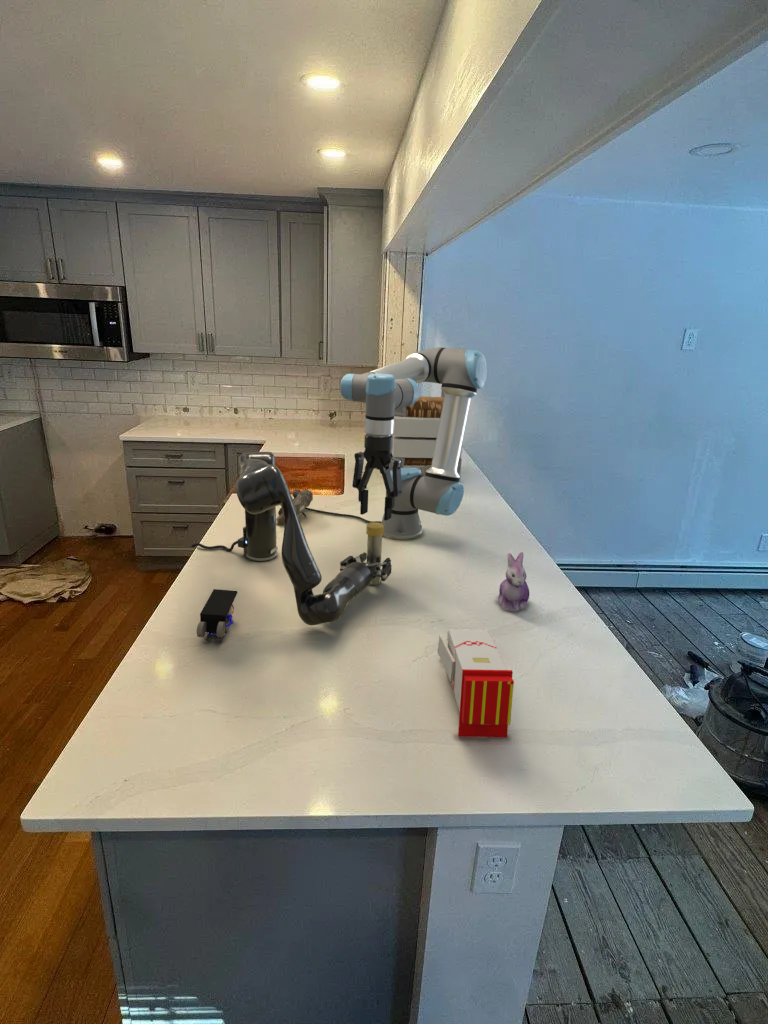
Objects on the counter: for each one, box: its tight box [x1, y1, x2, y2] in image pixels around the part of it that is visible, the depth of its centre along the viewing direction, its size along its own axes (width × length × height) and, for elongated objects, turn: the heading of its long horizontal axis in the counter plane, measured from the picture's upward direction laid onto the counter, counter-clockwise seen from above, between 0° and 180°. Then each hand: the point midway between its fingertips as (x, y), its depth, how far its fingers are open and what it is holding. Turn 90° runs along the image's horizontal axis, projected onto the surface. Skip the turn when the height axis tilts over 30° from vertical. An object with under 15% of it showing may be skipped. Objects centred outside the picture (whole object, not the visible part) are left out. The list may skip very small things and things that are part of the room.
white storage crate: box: [389, 390, 464, 483], centre depth 268 cm, size 34×33×41 cm
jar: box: [366, 535, 383, 586], centre depth 161 cm, size 4×4×17 cm
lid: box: [365, 522, 384, 537], centre depth 159 cm, size 5×5×2 cm
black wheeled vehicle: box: [196, 588, 238, 643], centre depth 135 cm, size 7×8×15 cm
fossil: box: [276, 488, 314, 526], centre depth 210 cm, size 22×10×15 cm
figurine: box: [497, 551, 530, 612], centre depth 152 cm, size 9×10×15 cm
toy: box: [437, 628, 515, 738], centre depth 117 cm, size 12×13×30 cm
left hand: (377, 558), depth 164 cm, fingers open, 7 cm apart
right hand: (375, 515), depth 157 cm, fingers open, 7 cm apart
